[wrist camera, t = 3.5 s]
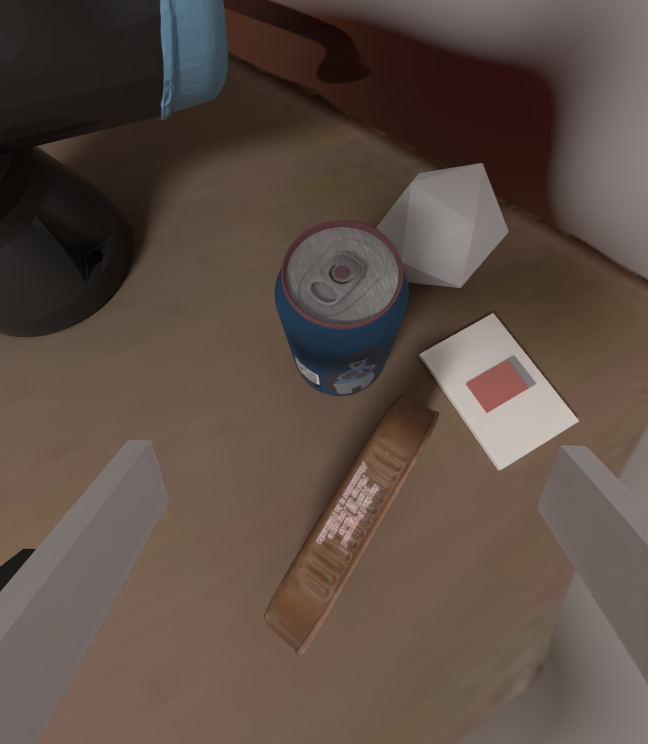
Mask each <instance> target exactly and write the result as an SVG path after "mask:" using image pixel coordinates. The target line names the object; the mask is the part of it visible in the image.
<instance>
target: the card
mask: <svg viewBox="0 0 648 744" xmlns="http://www.w3.org/2000/svg"><path fill="white" fill-rule="evenodd" d="M419 357H420V358H421V359H422V361H423V362H424V364H425V365H426V367H427V368H428V370H429V371H430V372H431V374H432V375H433V377H434V378H435V380H436V381H437V383H438V384H439V386H440V387H441V388H442V390H443V391H444V393H445V394H446V396H447V397H448V399H449V400H450V401H451V403H452V404H453V406H454V407H455V409H456V410H457V412H458V413H459V415H460V416H461V417H462V419H463V420H464V422H465V423H466V425H467V426H468V428H469V429H470V430H471V432H472V433H473V435H474V436H475V438H476V439H477V441H478V442H479V444H480V445H481V446H482V448H483V449H484V451H485V452H486V454H487V455H488V457H489V458H490V459H491V461H492V462H493V464H494V465H495V467H496V468H497V470H502V469H503V468H505V467H506V466H508V465H510V464H511V463H513V462H514V461H516V460H518V459H519V458H521V457H522V456H524V455H526V454H527V453H529V452H530V451H532V450H534V449H535V448H537V447H538V446H540V445H542V444H543V443H545V442H546V441H548V440H550V439H551V438H553V437H554V436H556V435H558V434H559V433H561V432H562V431H564V430H566V429H567V428H569V427H570V426H572V425H574V424H575V423H577V422H578V421H579V420H578V419H577V418H576V417H575V415H574V414H573V413H572V411H571V410H570V409H569V408H568V406H567V405H566V404H565V403H564V401H563V400H562V399H561V398H560V396H559V395H558V394H557V393H556V391H555V390H554V389H553V388H552V386H551V385H550V384H549V383H548V381H547V380H546V379H545V378H544V376H543V375H542V374H541V372H540V371H539V370H538V369H537V367H536V366H535V365H534V364H533V362H532V361H531V360H530V359H529V357H528V356H527V355H526V354H525V352H524V351H523V350H522V349H521V347H520V346H519V345H518V344H517V342H516V341H515V340H514V339H513V337H512V336H511V335H510V334H509V332H508V331H507V330H506V328H505V327H504V326H503V325H502V323H501V322H500V321H499V320H498V318H497V317H496V316H495V315H494V313H492V314H491V315H489V316H487V317H485V318H483V319H482V320H480V321H478V322H476V323H474V324H473V325H471V326H469V327H467V328H465V329H464V330H462V331H460V332H458V333H456V334H455V335H453V336H451V337H449V338H447V339H446V340H444V341H442V342H440V343H438V344H437V345H435V346H433V347H431V348H430V349H428V350H426V351H424V352H422V353H421V354H420V355H419Z"/></svg>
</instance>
